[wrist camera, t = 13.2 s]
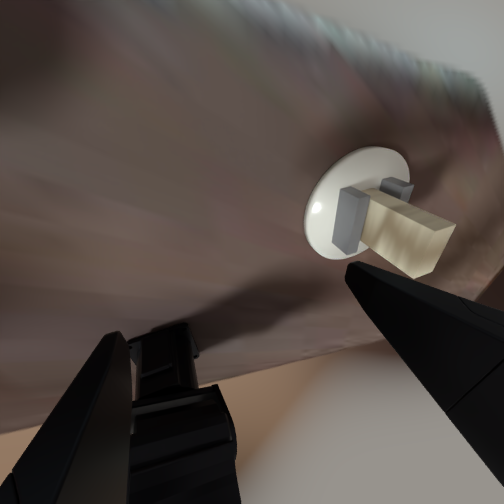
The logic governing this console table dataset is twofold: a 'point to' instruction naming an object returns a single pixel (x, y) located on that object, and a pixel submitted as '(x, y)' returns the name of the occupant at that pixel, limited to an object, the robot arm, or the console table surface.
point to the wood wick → (404, 233)
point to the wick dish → (352, 199)
